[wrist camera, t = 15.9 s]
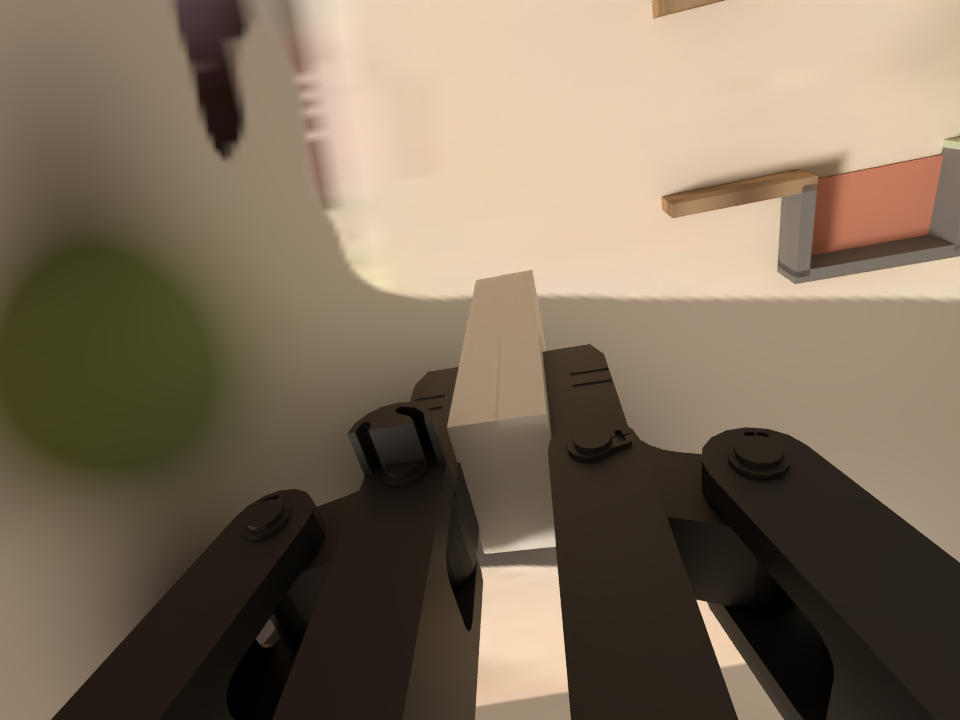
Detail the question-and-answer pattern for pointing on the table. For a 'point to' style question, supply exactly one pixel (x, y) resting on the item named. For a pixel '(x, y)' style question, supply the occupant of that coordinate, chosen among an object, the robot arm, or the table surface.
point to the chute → (736, 192)
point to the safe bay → (952, 143)
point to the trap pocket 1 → (872, 219)
